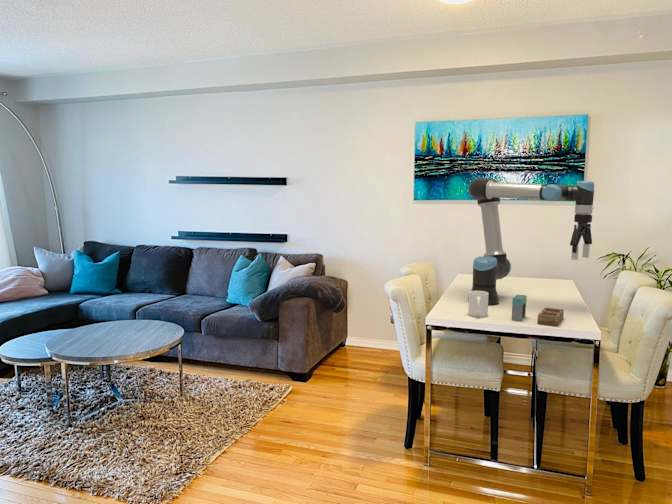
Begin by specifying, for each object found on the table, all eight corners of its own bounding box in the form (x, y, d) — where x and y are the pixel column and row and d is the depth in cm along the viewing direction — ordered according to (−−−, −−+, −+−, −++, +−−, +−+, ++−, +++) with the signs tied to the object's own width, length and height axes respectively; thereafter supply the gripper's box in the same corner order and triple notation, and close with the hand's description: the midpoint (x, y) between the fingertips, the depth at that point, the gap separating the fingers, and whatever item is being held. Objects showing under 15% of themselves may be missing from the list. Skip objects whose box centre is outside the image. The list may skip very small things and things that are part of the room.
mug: (467, 318, 233) (468, 294, 231) (468, 312, 244) (469, 290, 243) (487, 319, 230) (488, 296, 229) (487, 313, 242) (488, 291, 241)
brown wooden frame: (557, 326, 219) (557, 317, 219) (537, 324, 223) (537, 315, 223) (563, 318, 234) (563, 309, 234) (544, 315, 239) (544, 307, 238)
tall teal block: (520, 321, 228) (522, 299, 226) (511, 320, 230) (512, 298, 228) (525, 317, 236) (526, 295, 235) (516, 315, 238) (517, 294, 237)
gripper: (581, 214, 233) (577, 261, 236) (601, 213, 251) (597, 257, 253) (564, 214, 239) (561, 259, 241) (585, 213, 256) (582, 255, 259)
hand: (580, 258), depth 247 cm, fingers open, 13 cm apart
